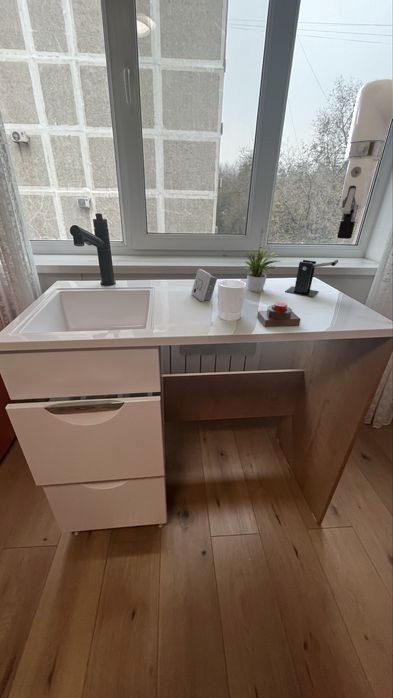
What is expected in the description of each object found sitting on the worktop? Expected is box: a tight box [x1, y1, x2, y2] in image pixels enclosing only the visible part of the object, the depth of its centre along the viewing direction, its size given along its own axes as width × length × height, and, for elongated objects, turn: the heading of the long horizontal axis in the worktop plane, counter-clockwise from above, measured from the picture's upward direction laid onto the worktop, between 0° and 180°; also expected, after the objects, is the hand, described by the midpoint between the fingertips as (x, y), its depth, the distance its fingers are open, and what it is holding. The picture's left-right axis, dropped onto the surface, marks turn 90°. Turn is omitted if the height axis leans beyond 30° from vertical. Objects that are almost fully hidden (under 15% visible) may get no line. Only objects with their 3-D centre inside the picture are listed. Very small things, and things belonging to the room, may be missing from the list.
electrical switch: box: [191, 268, 218, 303], centre depth 98 cm, size 9×5×9 cm, turn 22°
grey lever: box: [310, 259, 339, 268], centre depth 98 cm, size 11×5×2 cm, turn 56°
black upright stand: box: [284, 259, 319, 298], centre depth 102 cm, size 10×8×12 cm
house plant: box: [243, 245, 281, 292], centre depth 102 cm, size 14×14×16 cm
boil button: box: [273, 301, 288, 312], centre depth 80 cm, size 4×4×2 cm
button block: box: [256, 304, 301, 328], centre depth 81 cm, size 10×7×4 cm
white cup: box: [217, 279, 247, 322], centre depth 82 cm, size 8×8×10 cm
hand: (344, 237), depth 75 cm, fingers closed
